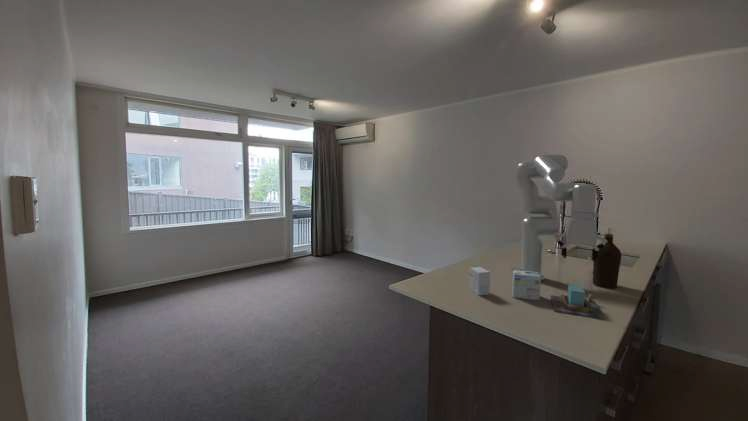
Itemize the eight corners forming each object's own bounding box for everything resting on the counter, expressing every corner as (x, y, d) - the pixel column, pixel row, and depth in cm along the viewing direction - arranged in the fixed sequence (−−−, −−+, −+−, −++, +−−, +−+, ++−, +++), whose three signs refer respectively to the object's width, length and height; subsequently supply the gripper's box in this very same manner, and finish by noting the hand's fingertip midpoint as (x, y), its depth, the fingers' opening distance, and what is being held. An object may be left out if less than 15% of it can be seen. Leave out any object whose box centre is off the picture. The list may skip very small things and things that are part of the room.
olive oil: (624, 289, 145) (629, 236, 142) (601, 289, 145) (605, 236, 142) (607, 281, 155) (611, 232, 152) (586, 281, 155) (590, 232, 152)
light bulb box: (537, 295, 138) (539, 271, 137) (540, 301, 132) (541, 276, 130) (511, 292, 142) (512, 269, 140) (512, 297, 135) (513, 273, 134)
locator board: (554, 311, 122) (555, 302, 121) (550, 296, 136) (551, 288, 136) (604, 319, 115) (605, 309, 115) (594, 303, 129) (595, 294, 129)
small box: (489, 294, 138) (490, 271, 137) (478, 295, 137) (479, 272, 136) (479, 288, 146) (480, 266, 145) (469, 289, 145) (469, 267, 144)
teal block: (567, 300, 130) (568, 284, 129) (580, 302, 128) (581, 286, 127) (570, 307, 123) (571, 290, 122) (583, 309, 121) (585, 292, 120)
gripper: (606, 216, 121) (602, 258, 123) (555, 213, 128) (552, 254, 130) (612, 218, 114) (607, 263, 116) (557, 215, 121) (554, 258, 123)
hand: (578, 258), depth 123 cm, fingers open, 9 cm apart
